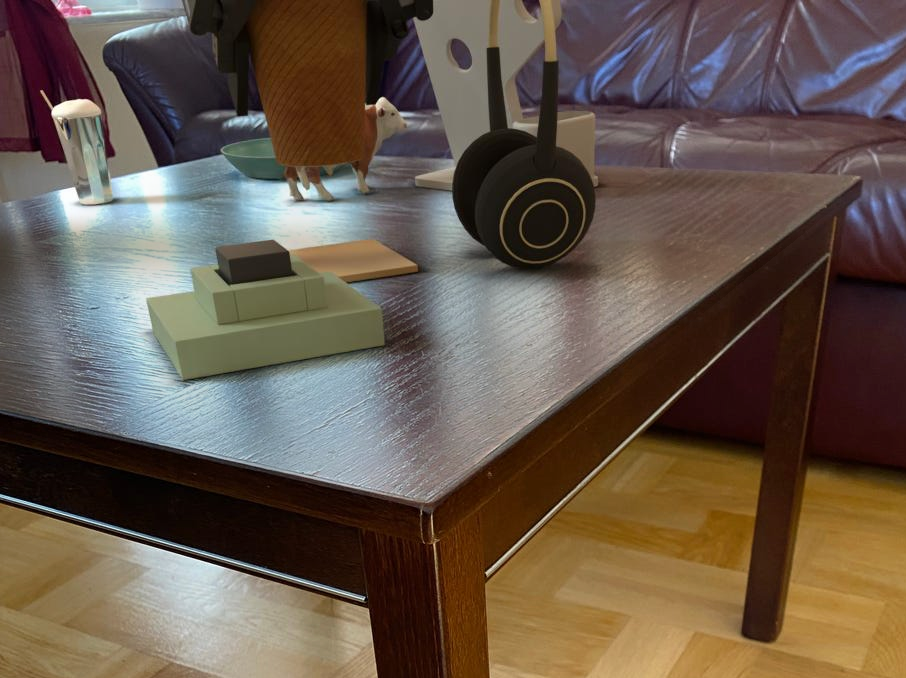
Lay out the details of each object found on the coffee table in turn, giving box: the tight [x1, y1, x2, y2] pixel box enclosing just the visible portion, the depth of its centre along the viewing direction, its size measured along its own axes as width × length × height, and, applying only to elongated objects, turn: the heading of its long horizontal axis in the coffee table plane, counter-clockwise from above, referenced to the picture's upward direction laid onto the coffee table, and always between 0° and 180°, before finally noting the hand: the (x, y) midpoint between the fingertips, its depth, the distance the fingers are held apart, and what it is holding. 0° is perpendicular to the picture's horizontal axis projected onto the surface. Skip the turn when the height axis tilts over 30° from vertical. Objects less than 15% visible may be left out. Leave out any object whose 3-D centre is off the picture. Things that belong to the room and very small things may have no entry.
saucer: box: [220, 137, 344, 180], centre depth 113 cm, size 15×15×3 cm
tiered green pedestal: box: [145, 254, 386, 381], centre depth 61 cm, size 10×12×4 cm
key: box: [214, 239, 293, 286], centre depth 60 cm, size 4×4×2 cm
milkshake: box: [39, 89, 114, 206], centre depth 100 cm, size 5×5×10 cm
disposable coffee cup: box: [244, 0, 368, 167], centre depth 69 cm, size 10×10×12 cm
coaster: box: [287, 238, 419, 283], centre depth 77 cm, size 10×10×1 cm
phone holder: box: [412, 0, 599, 192], centre depth 97 cm, size 17×10×18 cm, turn 49°
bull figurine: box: [284, 96, 408, 202], centre depth 99 cm, size 4×13×8 cm, turn 124°
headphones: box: [451, 0, 597, 270], centre depth 71 cm, size 9×15×20 cm, turn 14°
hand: (303, 94), depth 73 cm, fingers closed on disposable coffee cup, 9 cm apart
